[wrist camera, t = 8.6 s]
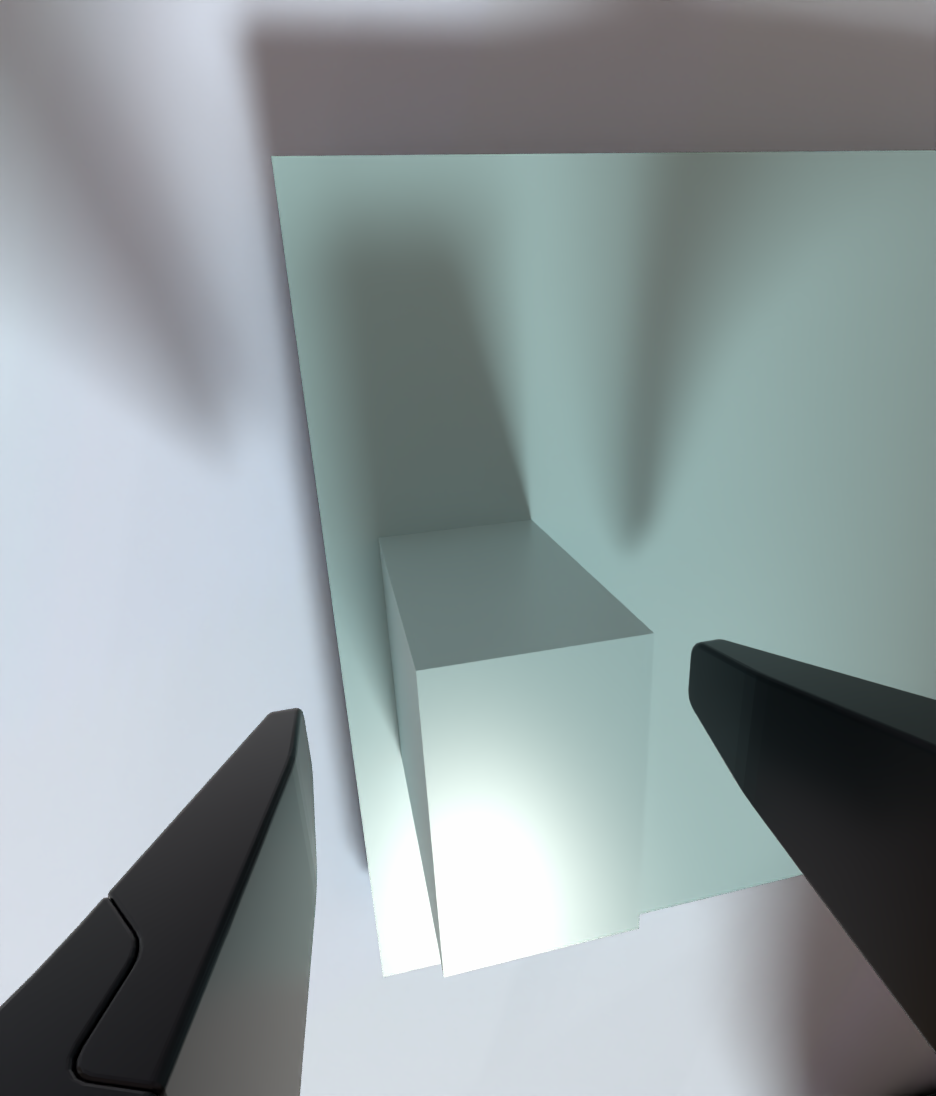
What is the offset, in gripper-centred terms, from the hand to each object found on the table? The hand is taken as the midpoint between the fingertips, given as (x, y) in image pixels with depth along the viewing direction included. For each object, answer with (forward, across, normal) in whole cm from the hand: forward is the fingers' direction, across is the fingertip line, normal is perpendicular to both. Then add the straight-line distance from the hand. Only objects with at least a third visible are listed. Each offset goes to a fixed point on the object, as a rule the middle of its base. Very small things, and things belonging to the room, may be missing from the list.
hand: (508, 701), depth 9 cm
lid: (+3, -4, 0) cm, 5 cm away
